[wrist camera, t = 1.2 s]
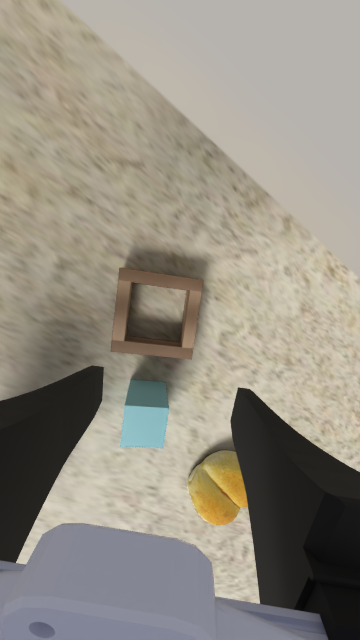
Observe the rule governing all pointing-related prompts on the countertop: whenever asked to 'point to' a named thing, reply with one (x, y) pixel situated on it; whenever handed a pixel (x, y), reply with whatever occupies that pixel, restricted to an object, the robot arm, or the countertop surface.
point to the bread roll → (218, 488)
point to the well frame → (152, 345)
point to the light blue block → (145, 415)
